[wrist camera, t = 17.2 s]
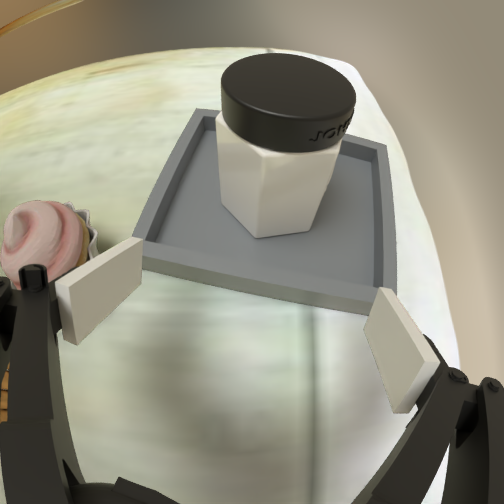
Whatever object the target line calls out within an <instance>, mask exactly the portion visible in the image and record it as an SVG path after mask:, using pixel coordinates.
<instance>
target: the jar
mask: <svg viewBox="0 0 504 504" xmlns="http://www.w3.org/2000/svg"><path fill="white" fill-rule="evenodd" d="M221 101H222V110H221V111H220V113H219V114H218V115H217V117H216V119H215V121H216V137H217V153H218V167H219V180H220V194H221V203H222V204H223V205H224V206H225V208H226V209H227V210H228V211H229V212H230V213H231V214H232V215H233V216H234V217H235V218H236V219H237V220H238V221H239V222H240V223H241V224H242V225H243V226H244V227H245V228H246V229H247V230H248V231H249V232H250V233H251V234H252V235H253V236H254V237H255V238H263V237H270V236H277V235H284V234H291V233H299V232H306V231H309V230H310V228H311V226H312V223H313V220H314V218H315V215H316V213H317V210H318V208H319V205H320V202H321V200H322V197H323V196H324V192H325V191H326V190H327V185H328V184H329V182H330V179H331V176H332V173H333V170H334V166H335V163H336V159H337V157H338V154H339V151H340V146H341V142H342V137H343V136H344V134H345V132H346V130H347V128H348V126H349V125H350V122H351V119H352V116H353V113H354V106H355V103H356V93H355V90H354V88H353V86H352V84H351V83H350V82H349V81H348V80H347V78H346V77H344V76H343V75H342V74H341V73H339V72H338V71H337V70H335V69H333V68H332V67H330V66H328V65H326V64H324V63H322V62H319V61H316V60H314V59H310V58H307V57H303V56H298V55H293V54H283V53H266V54H258V55H253V56H249V57H246V58H243V59H240V60H238V61H236V62H234V63H233V64H231V65H230V66H229V67H228V68H227V69H226V70H225V71H224V73H223V75H222V78H221Z"/></svg>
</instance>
